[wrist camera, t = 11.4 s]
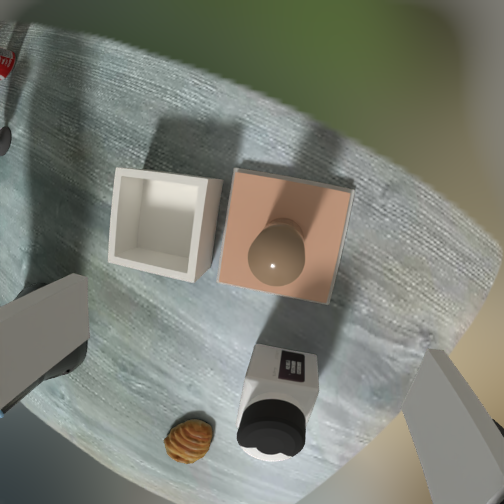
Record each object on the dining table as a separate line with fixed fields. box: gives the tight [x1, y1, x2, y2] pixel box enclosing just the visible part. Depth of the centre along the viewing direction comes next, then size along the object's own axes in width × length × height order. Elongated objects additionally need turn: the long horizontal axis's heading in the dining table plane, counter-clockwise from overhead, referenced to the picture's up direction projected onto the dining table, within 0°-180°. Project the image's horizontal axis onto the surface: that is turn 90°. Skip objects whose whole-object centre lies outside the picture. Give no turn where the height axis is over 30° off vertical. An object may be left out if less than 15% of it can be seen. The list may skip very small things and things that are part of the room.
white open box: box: [108, 168, 223, 283], centre depth 33 cm, size 10×10×6 cm
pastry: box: [164, 419, 213, 464], centre depth 41 cm, size 9×7×4 cm
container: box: [236, 344, 319, 461], centre depth 32 cm, size 8×8×13 cm
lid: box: [219, 172, 350, 303], centre depth 29 cm, size 12×12×10 cm
